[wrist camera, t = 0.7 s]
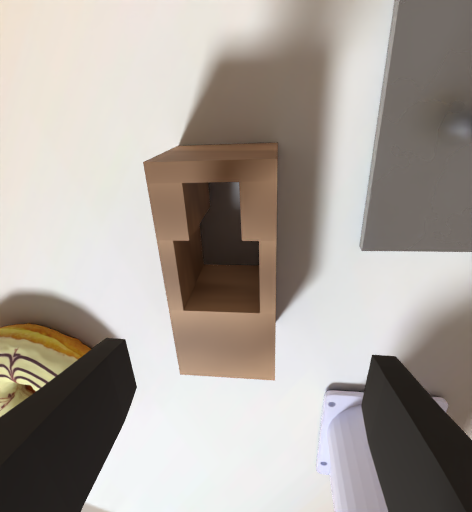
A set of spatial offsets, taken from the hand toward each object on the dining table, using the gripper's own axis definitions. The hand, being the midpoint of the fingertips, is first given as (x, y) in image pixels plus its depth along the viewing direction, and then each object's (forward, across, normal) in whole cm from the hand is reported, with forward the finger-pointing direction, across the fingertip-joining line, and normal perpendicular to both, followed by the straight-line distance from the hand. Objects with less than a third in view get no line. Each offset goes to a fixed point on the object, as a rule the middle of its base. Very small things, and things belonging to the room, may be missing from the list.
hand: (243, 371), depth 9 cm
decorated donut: (+10, +16, +11) cm, 22 cm away
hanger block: (+9, +2, 0) cm, 10 cm away
